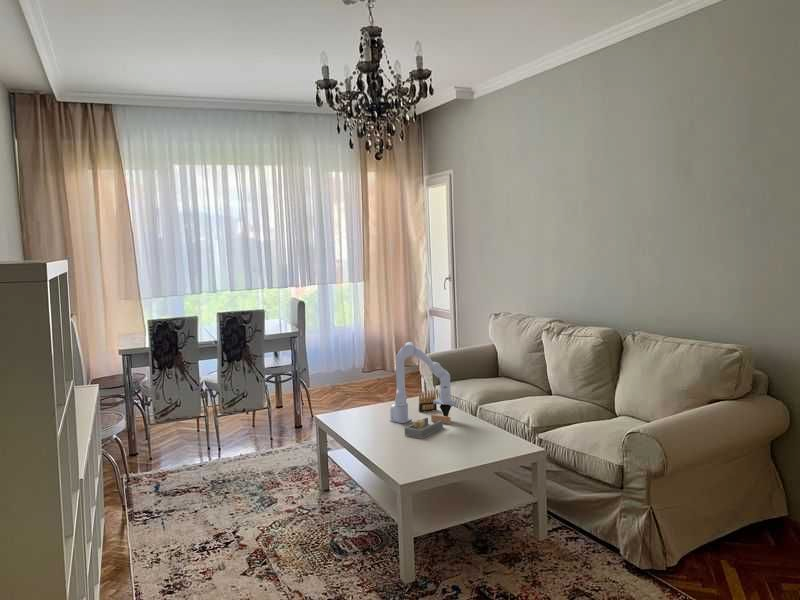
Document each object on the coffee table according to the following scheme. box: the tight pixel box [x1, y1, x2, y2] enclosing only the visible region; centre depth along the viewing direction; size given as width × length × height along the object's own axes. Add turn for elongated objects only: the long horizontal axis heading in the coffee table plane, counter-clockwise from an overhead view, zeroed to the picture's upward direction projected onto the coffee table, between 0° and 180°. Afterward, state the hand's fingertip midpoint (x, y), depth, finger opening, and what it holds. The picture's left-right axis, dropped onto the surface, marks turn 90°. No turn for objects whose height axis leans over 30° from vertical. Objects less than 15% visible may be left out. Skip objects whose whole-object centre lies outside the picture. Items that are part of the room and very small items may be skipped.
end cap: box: [430, 414, 452, 425], centre depth 336 cm, size 12×1×4 cm, turn 55°
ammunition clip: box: [418, 389, 438, 413], centre depth 360 cm, size 11×2×12 cm, turn 106°
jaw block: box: [413, 419, 425, 430], centre depth 319 cm, size 4×4×6 cm
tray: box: [404, 417, 444, 439], centre depth 322 cm, size 10×21×4 cm, turn 145°
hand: (445, 417), depth 341 cm, fingers closed
